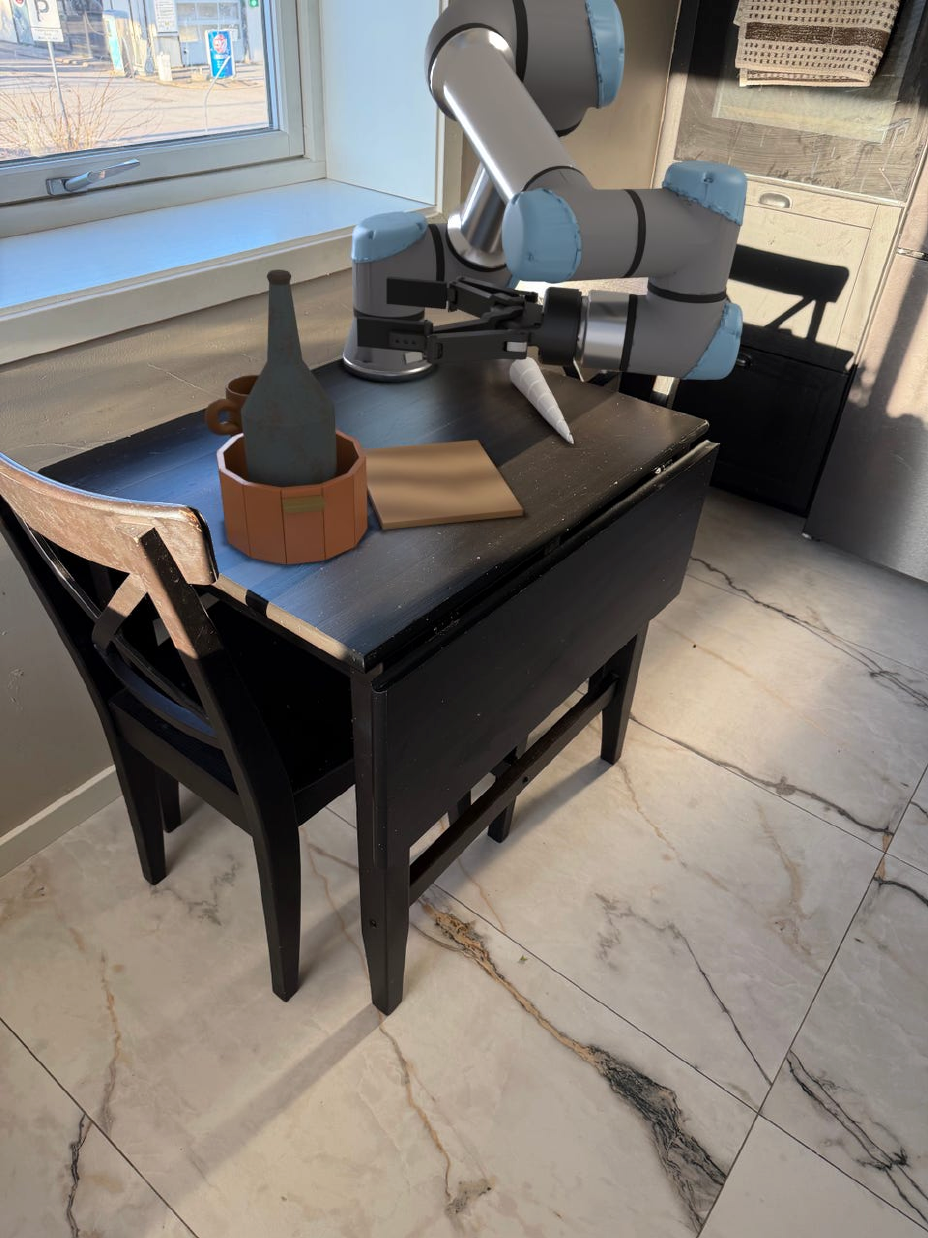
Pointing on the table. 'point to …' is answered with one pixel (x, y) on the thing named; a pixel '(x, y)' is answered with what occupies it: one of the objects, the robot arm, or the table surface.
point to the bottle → (287, 406)
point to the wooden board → (436, 485)
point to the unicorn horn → (538, 393)
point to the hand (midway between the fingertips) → (372, 309)
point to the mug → (230, 406)
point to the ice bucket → (294, 508)
